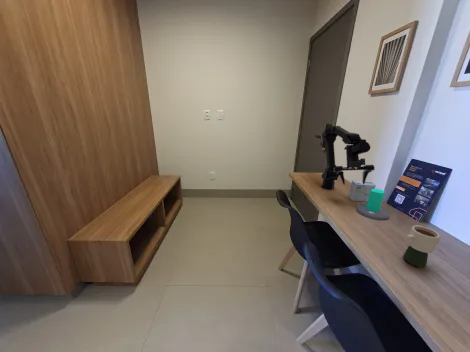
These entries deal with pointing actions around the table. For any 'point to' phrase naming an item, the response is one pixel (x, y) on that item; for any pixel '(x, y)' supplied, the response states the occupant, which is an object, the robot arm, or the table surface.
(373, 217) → the charcoal plinth
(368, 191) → the light bulb box
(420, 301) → the table surface
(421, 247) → the character mug
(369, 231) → the table surface
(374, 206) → the candle
